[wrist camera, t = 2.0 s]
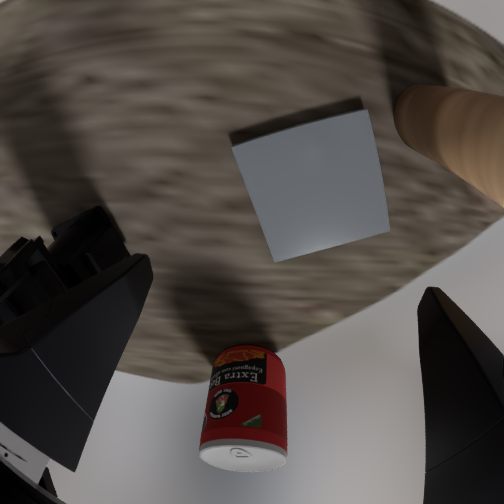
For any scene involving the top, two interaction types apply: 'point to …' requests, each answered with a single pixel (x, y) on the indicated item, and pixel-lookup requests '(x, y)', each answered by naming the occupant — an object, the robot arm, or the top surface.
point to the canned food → (246, 411)
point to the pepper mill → (456, 132)
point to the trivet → (315, 184)
